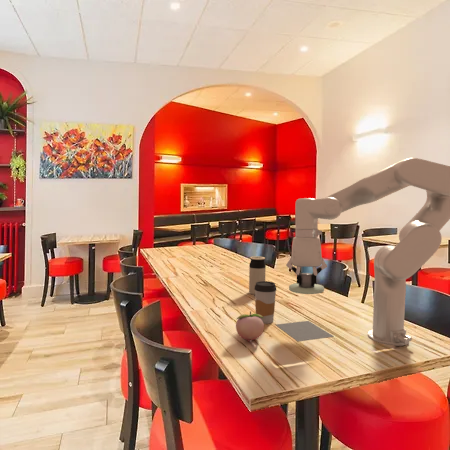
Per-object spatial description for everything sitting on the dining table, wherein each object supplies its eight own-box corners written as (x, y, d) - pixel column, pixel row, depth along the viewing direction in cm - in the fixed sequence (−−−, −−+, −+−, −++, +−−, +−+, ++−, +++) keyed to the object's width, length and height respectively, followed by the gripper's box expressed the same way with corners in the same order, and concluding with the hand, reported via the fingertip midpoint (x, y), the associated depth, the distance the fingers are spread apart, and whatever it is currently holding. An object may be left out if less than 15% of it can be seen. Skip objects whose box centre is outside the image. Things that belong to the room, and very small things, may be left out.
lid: (331, 292, 120) (331, 276, 119) (300, 295, 116) (300, 279, 115) (311, 284, 131) (311, 269, 131) (283, 287, 127) (282, 272, 127)
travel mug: (257, 296, 170) (257, 259, 168) (245, 292, 176) (246, 257, 174) (268, 293, 175) (269, 257, 174) (256, 290, 181) (257, 255, 180)
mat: (334, 338, 119) (334, 336, 119) (297, 343, 115) (297, 341, 115) (308, 322, 134) (308, 320, 134) (275, 326, 130) (275, 324, 130)
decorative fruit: (243, 348, 110) (243, 317, 109) (232, 339, 117) (232, 309, 117) (269, 344, 114) (269, 314, 113) (257, 335, 121) (257, 306, 120)
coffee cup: (280, 322, 134) (280, 283, 133) (267, 327, 128) (267, 287, 127) (262, 317, 140) (263, 279, 139) (249, 322, 134) (249, 283, 133)
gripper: (330, 232, 124) (330, 284, 125) (282, 232, 127) (282, 282, 129) (332, 235, 117) (332, 289, 118) (281, 234, 120) (281, 287, 121)
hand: (306, 285), depth 123 cm, fingers closed on lid, 4 cm apart
